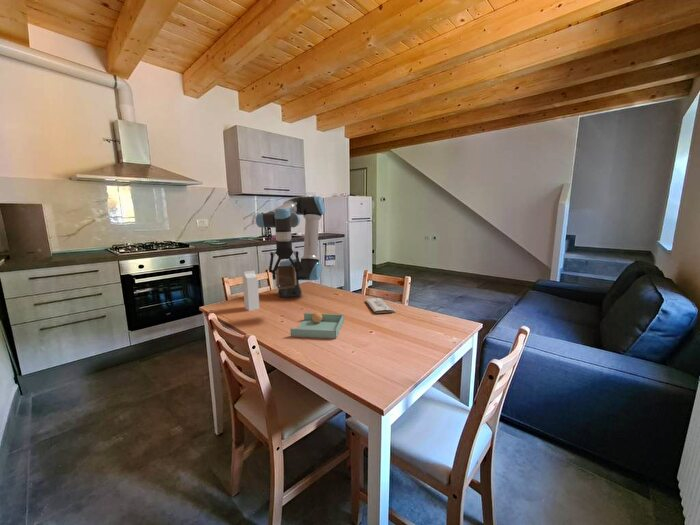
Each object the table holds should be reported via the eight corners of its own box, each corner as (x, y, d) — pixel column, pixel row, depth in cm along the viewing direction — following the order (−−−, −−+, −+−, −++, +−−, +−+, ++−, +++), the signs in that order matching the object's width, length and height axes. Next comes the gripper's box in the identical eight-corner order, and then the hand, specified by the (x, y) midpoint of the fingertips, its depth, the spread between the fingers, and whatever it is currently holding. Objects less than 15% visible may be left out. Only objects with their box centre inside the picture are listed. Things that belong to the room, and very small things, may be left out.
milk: (259, 309, 159) (257, 271, 155) (249, 312, 155) (246, 272, 151) (254, 307, 163) (252, 269, 160) (244, 309, 159) (241, 270, 156)
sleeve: (276, 285, 147) (275, 266, 145) (293, 283, 150) (292, 265, 148) (278, 289, 139) (277, 269, 137) (295, 287, 142) (295, 268, 140)
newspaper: (396, 313, 151) (396, 309, 151) (374, 315, 149) (374, 310, 149) (384, 301, 173) (384, 297, 173) (364, 302, 171) (364, 298, 171)
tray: (304, 319, 143) (304, 313, 142) (343, 321, 140) (343, 314, 139) (290, 336, 123) (290, 328, 122) (336, 338, 120) (335, 331, 120)
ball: (319, 325, 139) (325, 316, 140) (316, 323, 134) (322, 314, 135) (312, 320, 140) (317, 311, 142) (308, 318, 136) (314, 309, 137)
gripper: (260, 241, 134) (263, 288, 138) (306, 240, 140) (308, 285, 143) (261, 240, 141) (264, 284, 145) (304, 239, 147) (306, 281, 151)
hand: (286, 284), depth 144 cm, fingers closed on sleeve, 9 cm apart
